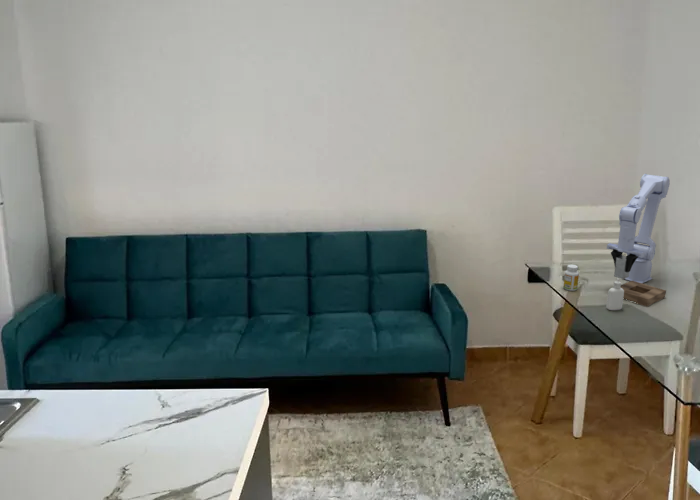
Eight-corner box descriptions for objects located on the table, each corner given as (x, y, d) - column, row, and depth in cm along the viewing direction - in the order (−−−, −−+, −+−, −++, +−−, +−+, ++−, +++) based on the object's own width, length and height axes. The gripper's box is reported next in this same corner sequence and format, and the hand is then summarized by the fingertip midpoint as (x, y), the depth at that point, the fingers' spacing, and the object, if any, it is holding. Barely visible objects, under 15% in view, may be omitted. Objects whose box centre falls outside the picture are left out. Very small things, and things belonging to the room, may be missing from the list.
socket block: (631, 287, 262) (631, 280, 261) (664, 297, 251) (666, 290, 250) (612, 295, 254) (613, 288, 253) (646, 306, 243) (647, 299, 242)
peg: (619, 274, 258) (621, 255, 255) (628, 276, 255) (631, 257, 252) (613, 276, 255) (616, 257, 253) (623, 279, 252) (626, 260, 250)
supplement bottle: (575, 286, 263) (578, 264, 260) (578, 291, 258) (581, 268, 255) (562, 285, 264) (564, 263, 261) (564, 290, 259) (567, 268, 256)
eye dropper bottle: (605, 305, 245) (609, 276, 241) (621, 307, 243) (625, 277, 239) (606, 310, 241) (610, 280, 237) (622, 311, 239) (626, 281, 235)
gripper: (604, 234, 253) (600, 267, 257) (639, 243, 242) (634, 277, 246) (613, 231, 257) (609, 263, 261) (648, 240, 246) (644, 273, 250)
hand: (622, 270), depth 254 cm, fingers closed on peg, 4 cm apart
